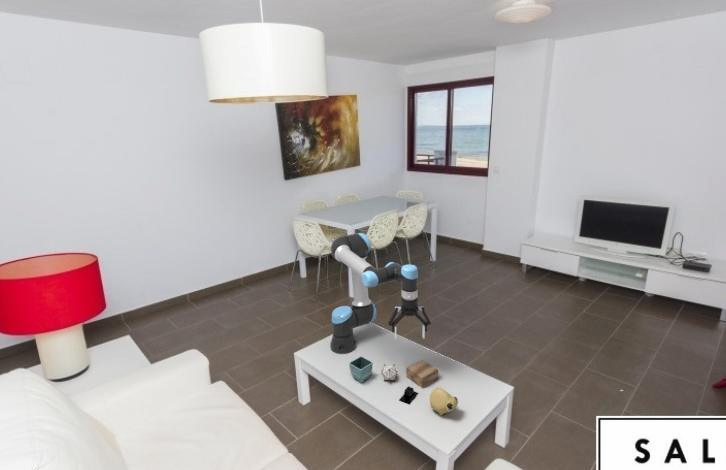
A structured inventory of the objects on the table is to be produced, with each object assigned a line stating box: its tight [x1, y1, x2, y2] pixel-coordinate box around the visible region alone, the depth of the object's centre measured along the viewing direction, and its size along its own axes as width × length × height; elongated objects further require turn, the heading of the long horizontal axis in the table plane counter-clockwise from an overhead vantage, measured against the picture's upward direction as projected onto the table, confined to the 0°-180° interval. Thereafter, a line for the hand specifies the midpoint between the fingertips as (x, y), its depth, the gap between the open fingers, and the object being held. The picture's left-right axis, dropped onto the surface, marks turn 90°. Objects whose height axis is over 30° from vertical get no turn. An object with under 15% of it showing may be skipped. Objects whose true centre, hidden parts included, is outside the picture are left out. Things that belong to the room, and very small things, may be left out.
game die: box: [380, 363, 399, 382], centre depth 189 cm, size 9×8×10 cm
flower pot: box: [348, 355, 374, 383], centre depth 191 cm, size 9×9×9 cm
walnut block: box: [406, 359, 439, 389], centre depth 189 cm, size 11×11×6 cm
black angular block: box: [398, 385, 419, 406], centre depth 177 cm, size 12×7×5 cm, turn 145°
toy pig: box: [429, 387, 459, 416], centre depth 166 cm, size 10×12×11 cm
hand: (409, 337), depth 185 cm, fingers open, 13 cm apart
